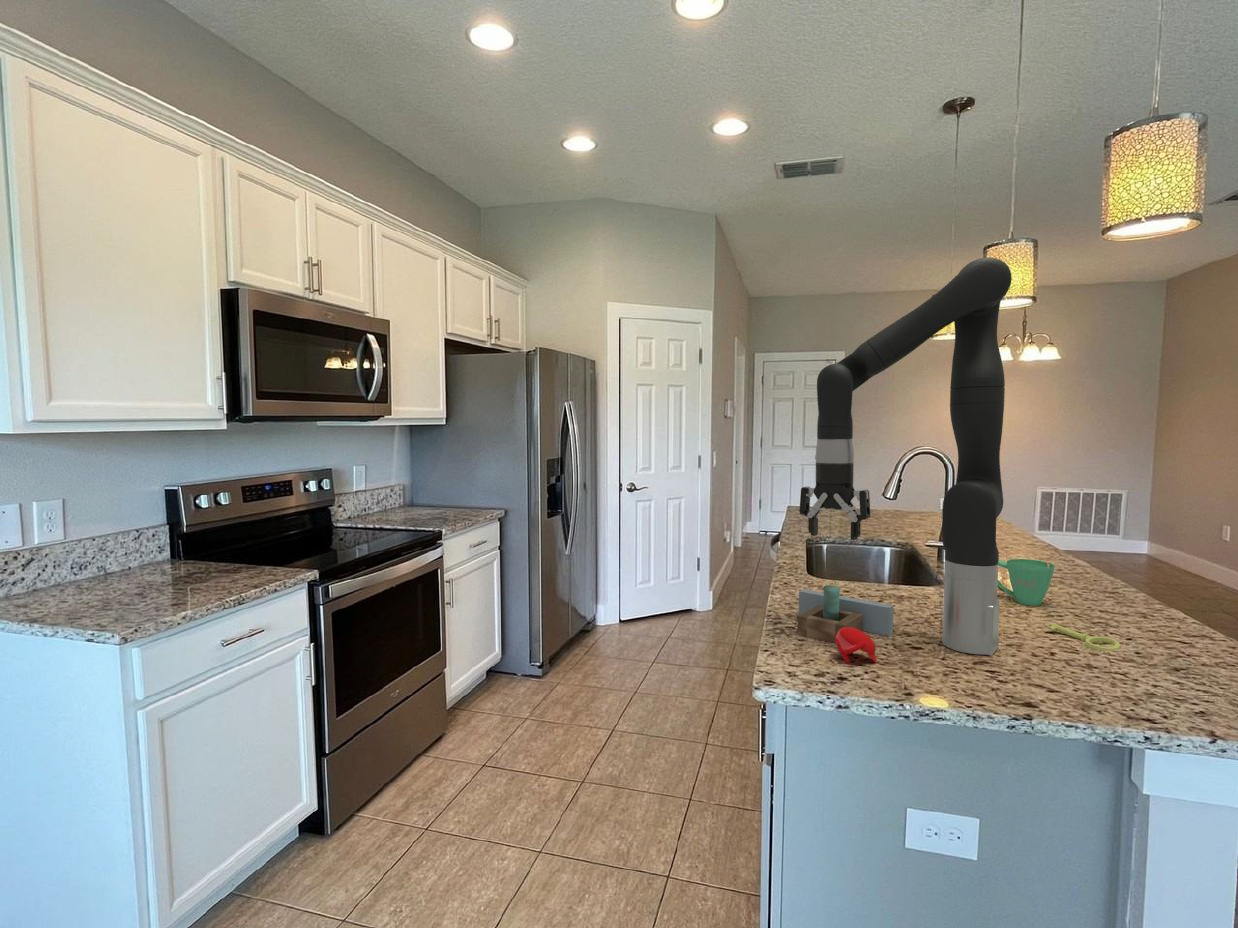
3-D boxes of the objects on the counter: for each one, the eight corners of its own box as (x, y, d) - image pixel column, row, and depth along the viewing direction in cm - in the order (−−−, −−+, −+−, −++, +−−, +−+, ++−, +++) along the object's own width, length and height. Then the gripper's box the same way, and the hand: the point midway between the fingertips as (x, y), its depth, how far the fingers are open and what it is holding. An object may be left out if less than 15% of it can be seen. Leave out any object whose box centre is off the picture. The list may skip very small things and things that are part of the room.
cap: (831, 646, 115) (861, 634, 112) (829, 626, 120) (858, 614, 117) (854, 677, 116) (884, 666, 113) (851, 656, 121) (880, 645, 119)
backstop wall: (892, 633, 131) (893, 605, 131) (889, 636, 130) (889, 607, 129) (803, 614, 144) (803, 589, 144) (798, 617, 143) (799, 591, 142)
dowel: (841, 633, 131) (842, 587, 131) (835, 637, 129) (836, 590, 128) (826, 630, 134) (827, 584, 133) (820, 633, 131) (821, 587, 130)
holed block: (862, 632, 132) (863, 614, 132) (844, 645, 124) (845, 625, 124) (817, 622, 138) (817, 605, 138) (797, 634, 131) (798, 615, 131)
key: (1049, 631, 133) (1050, 622, 133) (1122, 647, 124) (1123, 636, 124) (1040, 639, 128) (1040, 629, 128) (1115, 656, 119) (1116, 645, 119)
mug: (1059, 603, 152) (1060, 563, 152) (1044, 611, 146) (1046, 569, 146) (993, 591, 164) (995, 554, 163) (977, 597, 158) (979, 559, 157)
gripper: (875, 460, 128) (874, 538, 129) (809, 459, 137) (808, 531, 138) (862, 462, 122) (861, 543, 123) (794, 460, 132) (794, 536, 133)
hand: (833, 537), depth 131 cm, fingers open, 8 cm apart
